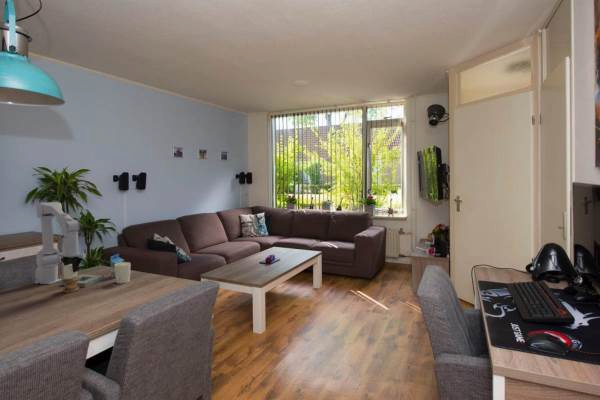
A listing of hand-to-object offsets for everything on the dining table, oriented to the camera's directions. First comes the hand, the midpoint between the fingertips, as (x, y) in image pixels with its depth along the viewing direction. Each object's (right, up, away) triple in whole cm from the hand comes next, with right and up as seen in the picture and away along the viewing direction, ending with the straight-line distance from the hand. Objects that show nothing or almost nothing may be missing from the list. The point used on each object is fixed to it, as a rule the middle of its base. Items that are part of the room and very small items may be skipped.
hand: (72, 271), depth 172 cm
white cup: (+16, -10, +18) cm, 26 cm away
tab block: (0, -3, -1) cm, 3 cm away
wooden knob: (-2, -10, +3) cm, 11 cm away
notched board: (-5, -9, +16) cm, 19 cm away
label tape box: (+7, -9, +30) cm, 32 cm away
